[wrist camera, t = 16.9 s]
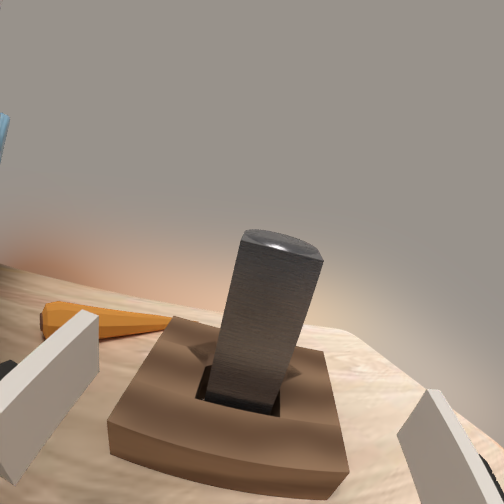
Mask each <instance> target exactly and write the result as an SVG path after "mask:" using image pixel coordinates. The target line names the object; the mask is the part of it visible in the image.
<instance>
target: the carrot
mask: <svg viewBox="0 0 504 504" xmlns="http://www.w3.org/2000/svg"><path fill="white" fill-rule="evenodd" d="M82 309H83V310H85V311H88V312H91V313H93V314H96V315H99V339H103V338H110V337H118V336H125V335H132V334H139V333H146V332H152V331H159V330H164V329H165V328H166V327H167V325H168V324H169V322H170V321H171V319H172V318H171V317H165V316H159V315H150V314H142V313H134V312H126V311H119V310H112V309H105V308H98V307H91V306H85V305H79V304H72V303H66V302H61V301H56V302H52V303H47V304H46V305H45V307H44V309H43V312H42V313H40V329H41V331H42V332H43V334H44V336H45V338H46V339H47V338H49V337H50V336H51V335H52V334H53V333H54V332H56V331H57V330H58V329H59V328H60V327H62V326H63V325H64V324H65V323H66V322H67V321H69V320H70V319H71V318H72V317H73V316H75V315H76V314H77V313H78V312H79V311H81V310H82ZM194 322H196V321H194Z"/></svg>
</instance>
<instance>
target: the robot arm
mask: <svg viewBox="0 0 504 504" xmlns="http://www.w3.org/2000/svg"><path fill="white" fill-rule="evenodd" d="M2 1H3V0H0V9H1V4H2ZM9 121H10V118H9V116H8V115H5V114H3V113H0V162H1V157H2V153H3V149H4V144H5V140H6V135H7V131H8V127H9ZM98 373H99V315H96V314H93V313H91V312H88V311H85V310H83V309H82V310H81V311H79V312H78V313H77V314H76V315H75V316H73V317H72V318H71V319H70V320H69V321H67V322H66V323H65V324H64V325H63V326H62V327H60V328H59V329H58V330H57V331H56V332H54V333H53V334H52V335H51V336H50V337H49V338H47V339H46V340H45V341H44V342H43V343H42V344H41V345H39V346H38V347H37V348H36V349H35V350H34V351H33V352H31V353H30V354H29V355H28V356H27V357H26V358H25V359H24V360H23V361H21V362H20V363H19V364H17V363H15V362H14V361H12V360H9V361H6V362H4V363H1V364H0V476H1V477H3V478H4V479H5V480H7V481H8V482H10V483H11V484H13V485H14V486H16V484H17V483H18V481H19V480H20V478H21V477H22V475H23V474H24V473H25V471H26V470H27V468H28V467H29V465H30V464H31V463H32V461H33V460H34V458H35V457H36V455H37V454H38V453H39V451H40V450H41V448H42V447H43V446H44V444H45V443H46V442H47V440H48V439H49V437H50V436H51V435H52V433H53V432H54V431H55V429H56V428H57V426H58V425H59V424H60V422H61V421H62V420H63V418H64V417H65V416H66V414H67V413H68V412H69V410H70V409H71V408H72V406H73V405H74V404H75V402H76V401H77V400H78V398H79V397H80V396H81V395H82V393H83V392H84V391H85V389H86V388H87V387H88V385H89V384H90V383H91V382H92V380H93V379H94V378H95V376H96V375H97V374H98ZM397 437H398V440H399V442H400V445H401V448H402V450H403V453H404V456H405V458H406V461H407V464H408V467H409V469H410V472H411V475H412V478H413V481H414V484H415V487H416V490H417V493H418V495H419V498H420V501H421V504H504V493H503V491H502V489H501V487H500V485H499V483H498V481H496V477H495V475H494V474H492V470H491V468H490V466H489V464H488V463H487V461H486V460H485V459H484V458H483V457H482V456H481V455H480V454H478V453H477V451H476V449H475V447H474V446H473V444H472V442H471V440H470V439H469V437H468V435H467V433H466V432H465V430H464V428H463V427H462V425H461V423H460V421H459V420H458V418H457V416H456V415H455V413H454V412H453V410H452V408H451V407H450V405H449V403H448V402H447V400H446V399H445V397H444V395H443V394H442V392H441V391H440V390H434V389H426V391H425V393H424V394H423V396H422V398H421V399H420V401H419V402H418V404H417V405H416V407H415V409H414V410H413V412H412V413H411V415H410V416H409V418H408V419H407V420H406V422H405V423H404V425H403V426H402V428H401V429H400V430H399V432H398V433H397Z"/></svg>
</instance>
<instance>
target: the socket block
mask: <svg viewBox="0 0 504 504" xmlns="http://www.w3.org/2000/svg"><path fill="white" fill-rule="evenodd" d="M219 332H220V328H216V327H213V326H209V325H205V324H201V323H198V322H194V321H190V320H187V319H183V318H180V317H176V316H173V318H172V319H171V321H170V322H169V324H168V325H167V327H166V328H165V330H164V331H163V333H162V334H161V336H160V337H159V339H158V340H157V342H156V344H155V345H154V347H153V348H152V350H151V351H150V353H149V354H148V356H147V357H146V359H145V361H144V362H143V364H142V365H141V367H140V368H139V370H138V372H137V373H136V375H135V376H134V378H133V379H132V381H131V383H130V384H129V386H128V387H127V389H126V390H125V392H124V394H123V395H122V397H121V398H120V400H119V402H118V403H117V405H116V406H115V408H114V410H113V411H112V413H111V415H110V416H109V418H108V419H107V427H108V437H109V446H110V454H112V455H114V456H117V457H120V458H122V459H125V460H127V461H130V462H133V463H136V464H138V465H141V466H144V467H147V468H150V469H153V470H156V471H159V472H163V473H166V474H169V475H173V476H176V477H180V478H183V479H187V480H191V481H195V482H199V483H203V484H207V485H212V486H216V487H221V488H226V489H231V490H237V491H242V492H248V493H255V494H262V495H269V496H278V497H287V498H299V499H314V500H327V499H328V498H329V497H330V496H331V494H332V493H333V492H334V491H335V490H336V489H337V487H338V486H339V485H340V484H341V483H342V481H343V480H344V479H345V478H346V476H347V475H348V474H349V473H350V472H349V466H348V461H347V456H346V451H345V447H344V442H343V437H342V432H341V427H340V423H339V418H338V414H337V409H336V405H335V400H334V396H333V391H332V387H331V383H330V378H329V374H328V370H327V366H326V362H325V357H324V353H323V351H318V350H312V349H307V348H303V347H298V346H295V349H294V352H293V354H292V357H291V360H290V363H289V365H288V368H287V371H286V373H285V376H284V379H283V381H282V384H281V386H280V389H279V392H278V394H277V397H276V399H275V402H274V404H273V407H272V409H271V412H270V414H269V415H263V414H258V413H253V412H248V411H244V410H239V409H235V408H230V407H226V406H222V405H218V404H214V403H210V402H206V401H202V400H199V399H202V398H205V395H206V390H207V386H208V381H209V377H210V372H211V368H212V363H213V359H214V354H215V350H216V345H217V341H218V337H219Z"/></svg>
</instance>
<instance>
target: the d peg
mask: <svg viewBox="0 0 504 504" xmlns="http://www.w3.org/2000/svg"><path fill="white" fill-rule="evenodd" d="M323 262H324V260H323V259H322V257H321V255H320V253H319V251H318V249H317V248H315V247H314V246H312V245H311V244H309V243H307V242H305V241H302V240H300V239H297V238H294V237H291V236H288V235H284V234H281V233H276V232H271V231H266V230H256V229H255V230H253V229H252V230H246V231H245V232H244V234H243V236H242V239H241V242H240V246H239V250H238V255H237V259H236V263H235V267H234V272H233V276H232V280H231V285H230V289H229V293H228V297H227V302H226V306H225V310H224V315H223V319H222V323H221V328H220V332H219V337H218V341H217V345H216V350H215V354H214V359H213V363H212V368H211V372H210V377H209V381H208V386H207V390H206V395H205V400H204V401H206V402H210V403H214V404H218V405H222V406H226V407H230V408H235V409H239V410H244V411H248V412H253V413H258V414H263V415H269V414H270V412H271V409H272V407H273V404H274V402H275V399H276V397H277V394H278V392H279V389H280V386H281V384H282V381H283V379H284V376H285V373H286V371H287V368H288V365H289V363H290V360H291V357H292V354H293V352H294V349H295V346H296V343H297V340H298V338H299V335H300V332H301V329H302V326H303V323H304V320H305V317H306V314H307V311H308V308H309V306H310V302H311V299H312V296H313V293H314V290H315V287H316V284H317V281H318V278H319V275H320V271H321V268H322V265H323Z"/></svg>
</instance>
